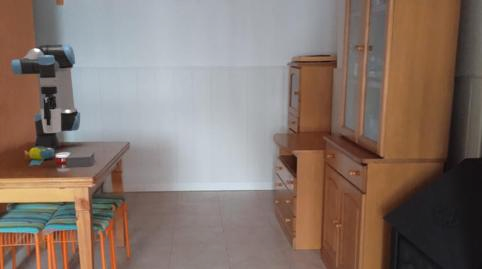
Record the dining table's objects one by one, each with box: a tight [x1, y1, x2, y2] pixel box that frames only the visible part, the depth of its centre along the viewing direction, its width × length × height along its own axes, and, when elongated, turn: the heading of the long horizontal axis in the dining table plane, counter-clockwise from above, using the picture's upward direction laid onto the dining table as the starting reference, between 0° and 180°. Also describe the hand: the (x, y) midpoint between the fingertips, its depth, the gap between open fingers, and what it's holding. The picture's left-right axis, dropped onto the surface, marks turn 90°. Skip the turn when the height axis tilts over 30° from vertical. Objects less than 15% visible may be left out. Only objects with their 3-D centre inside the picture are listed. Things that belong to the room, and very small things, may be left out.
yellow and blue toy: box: [23, 146, 56, 167], centre depth 250 cm, size 28×9×15 cm
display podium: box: [65, 151, 95, 168], centre depth 238 cm, size 12×12×5 cm
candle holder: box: [39, 107, 62, 134], centre depth 229 cm, size 10×10×12 cm
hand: (52, 130), depth 230 cm, fingers closed on candle holder, 9 cm apart
